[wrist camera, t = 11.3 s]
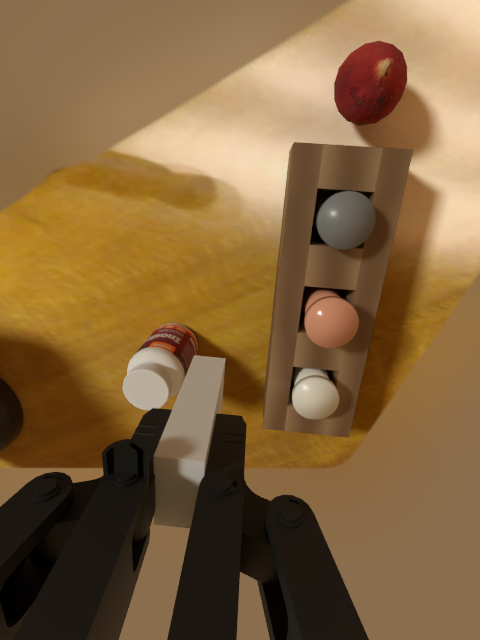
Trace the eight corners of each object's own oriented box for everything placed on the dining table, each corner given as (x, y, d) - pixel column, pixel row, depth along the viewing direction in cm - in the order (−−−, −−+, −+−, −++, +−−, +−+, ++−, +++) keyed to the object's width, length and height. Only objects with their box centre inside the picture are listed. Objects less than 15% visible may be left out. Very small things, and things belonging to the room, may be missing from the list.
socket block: (263, 399, 45) (262, 428, 39) (289, 150, 34) (294, 142, 29) (338, 406, 45) (348, 437, 39) (388, 157, 34) (413, 149, 28)
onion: (388, 126, 33) (424, 106, 26) (329, 135, 34) (347, 119, 26) (389, 55, 31) (428, 11, 24) (326, 66, 32) (344, 27, 24)
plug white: (285, 378, 43) (289, 417, 36) (290, 345, 42) (295, 378, 34) (323, 382, 43) (335, 421, 36) (329, 348, 41) (342, 382, 34)
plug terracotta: (295, 316, 39) (302, 345, 32) (300, 276, 37) (309, 296, 30) (336, 320, 39) (353, 350, 31) (344, 279, 37) (363, 301, 30)
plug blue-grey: (304, 236, 37) (314, 247, 30) (310, 190, 35) (322, 189, 28) (348, 240, 37) (369, 251, 29) (356, 193, 35) (380, 193, 28)
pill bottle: (191, 316, 42) (166, 357, 31) (204, 360, 44) (185, 411, 33) (144, 326, 43) (105, 368, 32) (160, 369, 45) (128, 421, 34)
